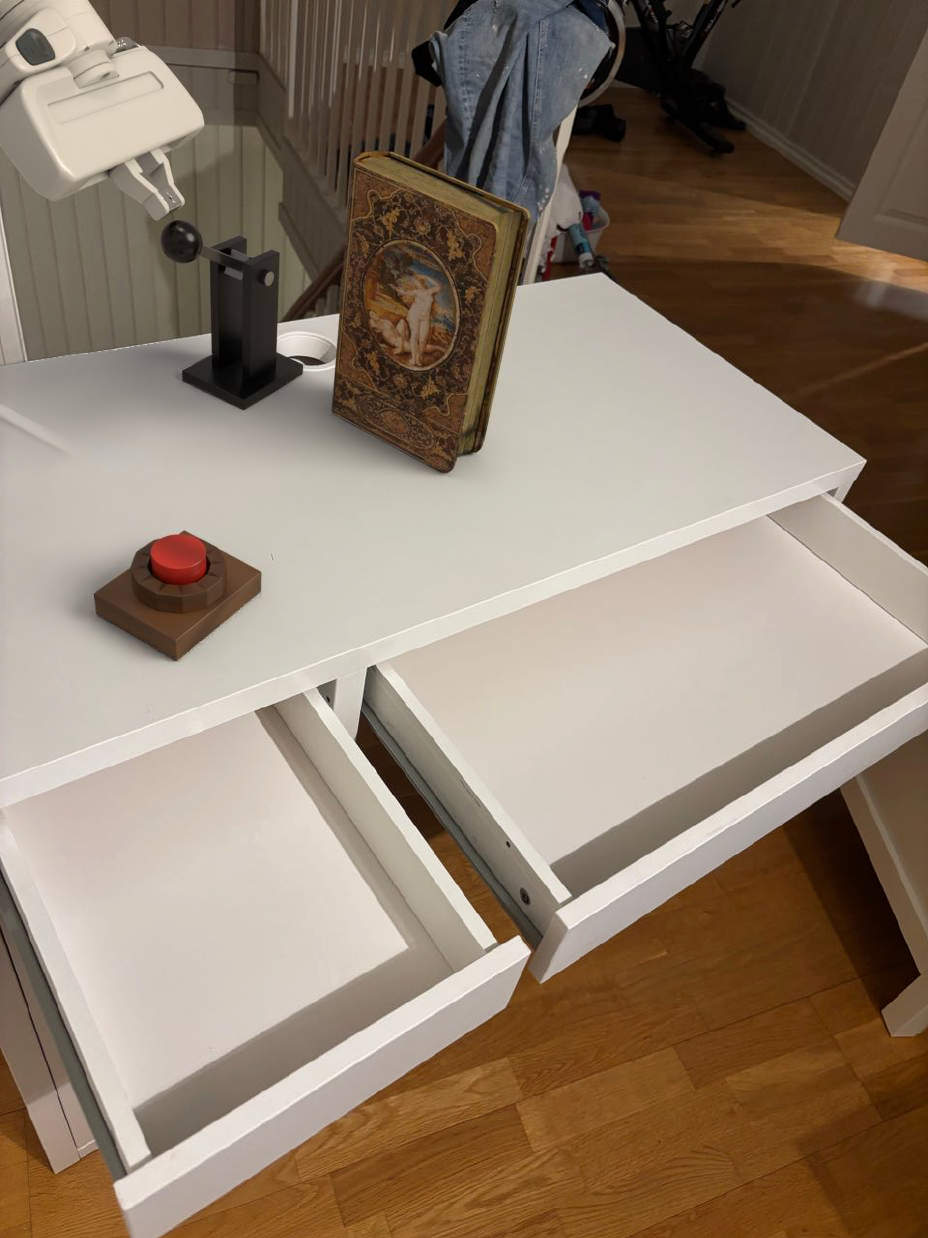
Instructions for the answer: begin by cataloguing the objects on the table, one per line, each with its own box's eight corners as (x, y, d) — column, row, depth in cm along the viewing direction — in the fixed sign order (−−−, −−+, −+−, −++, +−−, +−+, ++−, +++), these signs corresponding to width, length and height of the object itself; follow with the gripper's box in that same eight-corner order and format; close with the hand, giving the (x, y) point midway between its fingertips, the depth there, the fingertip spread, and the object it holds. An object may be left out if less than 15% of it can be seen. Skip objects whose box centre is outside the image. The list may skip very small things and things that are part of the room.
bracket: (243, 410, 96) (244, 280, 86) (182, 380, 98) (176, 249, 88) (303, 373, 102) (309, 249, 93) (244, 346, 104) (245, 222, 95)
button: (181, 593, 70) (180, 575, 69) (140, 570, 72) (138, 552, 70) (217, 566, 73) (217, 548, 72) (177, 544, 74) (176, 526, 73)
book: (323, 408, 98) (341, 157, 81) (356, 390, 102) (380, 146, 85) (451, 478, 93) (499, 226, 76) (481, 456, 97) (534, 211, 80)
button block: (176, 661, 70) (174, 623, 68) (95, 614, 72) (90, 575, 70) (261, 591, 77) (262, 554, 75) (185, 549, 79) (183, 512, 77)
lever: (178, 264, 81) (191, 222, 80) (145, 249, 82) (158, 208, 81) (261, 295, 93) (273, 259, 92) (232, 282, 94) (244, 246, 93)
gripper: (115, 55, 85) (212, 197, 90) (-51, 103, 70) (77, 269, 75) (156, 11, 81) (255, 161, 87) (-10, 52, 67) (121, 230, 72)
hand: (171, 212), depth 81 cm, fingers closed
